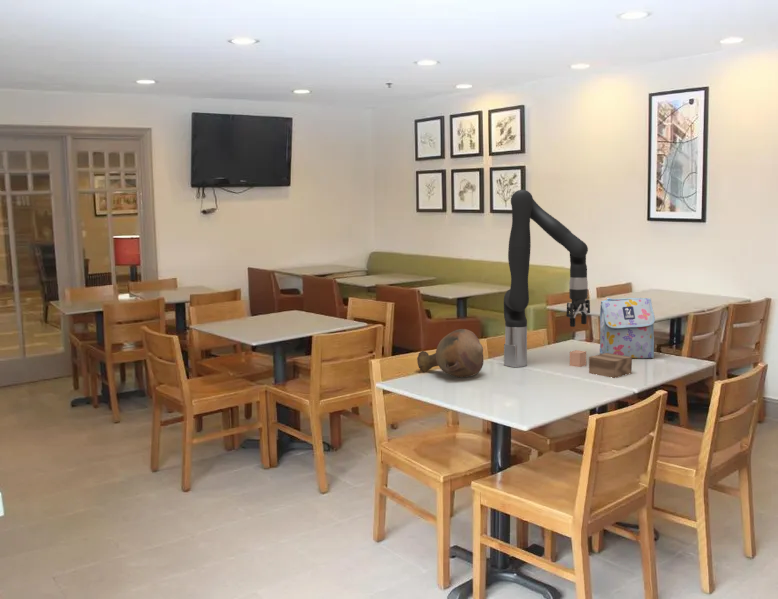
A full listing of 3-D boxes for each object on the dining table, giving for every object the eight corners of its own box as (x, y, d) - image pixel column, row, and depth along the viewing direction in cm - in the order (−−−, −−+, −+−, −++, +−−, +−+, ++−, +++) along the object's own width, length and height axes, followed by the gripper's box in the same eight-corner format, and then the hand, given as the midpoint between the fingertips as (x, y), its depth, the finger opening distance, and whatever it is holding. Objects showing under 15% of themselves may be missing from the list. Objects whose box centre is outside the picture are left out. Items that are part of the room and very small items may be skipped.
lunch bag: (603, 360, 340) (604, 301, 336) (596, 352, 357) (597, 296, 353) (656, 360, 338) (657, 300, 335) (646, 352, 355) (647, 295, 351)
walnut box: (613, 378, 308) (614, 361, 307) (589, 373, 317) (589, 357, 316) (631, 373, 316) (631, 357, 315) (606, 369, 325) (607, 352, 324)
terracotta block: (579, 367, 329) (579, 353, 328) (569, 365, 332) (569, 351, 332) (586, 365, 332) (586, 351, 331) (576, 363, 336) (576, 350, 335)
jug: (496, 376, 315) (437, 379, 334) (494, 328, 317) (436, 334, 337) (466, 376, 300) (407, 378, 319) (465, 325, 302) (406, 331, 322)
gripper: (576, 290, 320) (576, 328, 322) (595, 286, 330) (595, 324, 332) (561, 288, 326) (561, 326, 328) (580, 285, 335) (580, 322, 337)
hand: (578, 325), depth 330 cm, fingers open, 8 cm apart
